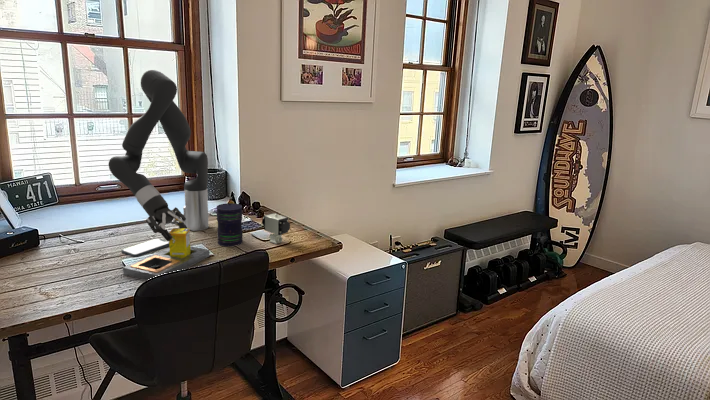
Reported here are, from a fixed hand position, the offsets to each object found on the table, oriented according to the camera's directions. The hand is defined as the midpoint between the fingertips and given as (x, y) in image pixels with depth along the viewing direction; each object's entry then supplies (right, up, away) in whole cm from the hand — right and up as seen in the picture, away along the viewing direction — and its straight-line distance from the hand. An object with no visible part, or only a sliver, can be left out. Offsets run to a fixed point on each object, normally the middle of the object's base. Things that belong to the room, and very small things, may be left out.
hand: (178, 236), depth 171 cm
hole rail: (-2, -10, -3) cm, 11 cm away
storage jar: (+13, -4, +22) cm, 25 cm away
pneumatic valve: (+31, -4, +24) cm, 39 cm away
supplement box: (0, -9, +2) cm, 9 cm away
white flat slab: (-16, -6, +11) cm, 20 cm away
